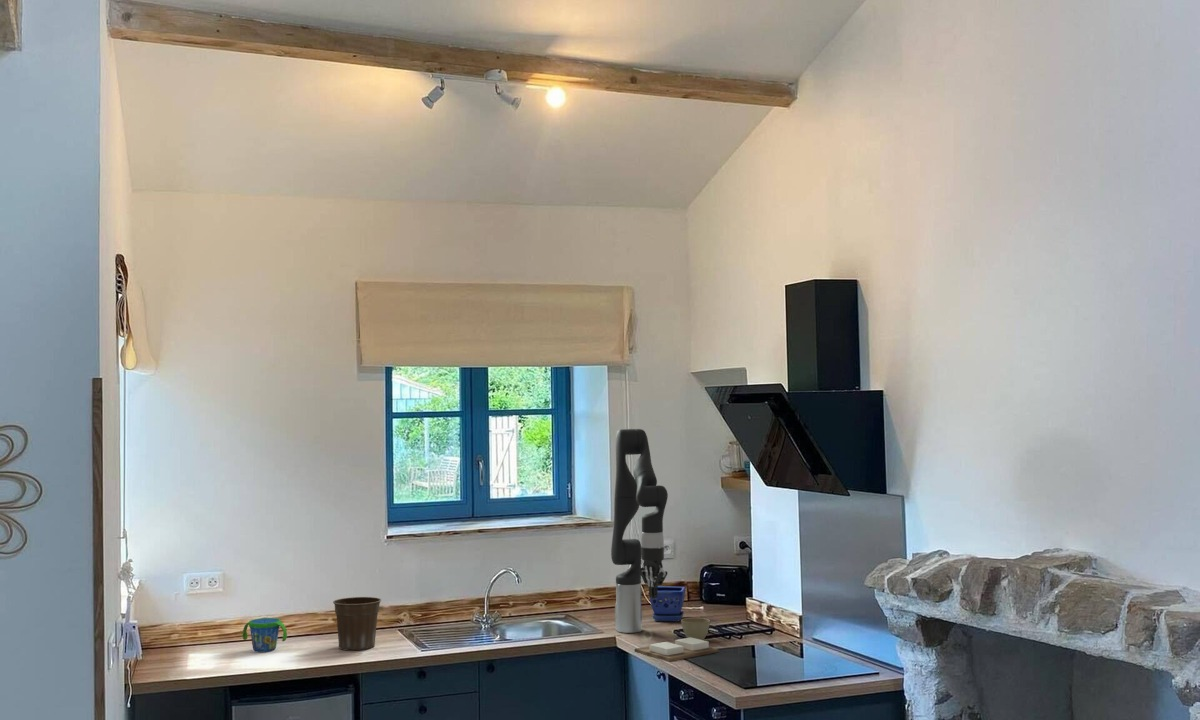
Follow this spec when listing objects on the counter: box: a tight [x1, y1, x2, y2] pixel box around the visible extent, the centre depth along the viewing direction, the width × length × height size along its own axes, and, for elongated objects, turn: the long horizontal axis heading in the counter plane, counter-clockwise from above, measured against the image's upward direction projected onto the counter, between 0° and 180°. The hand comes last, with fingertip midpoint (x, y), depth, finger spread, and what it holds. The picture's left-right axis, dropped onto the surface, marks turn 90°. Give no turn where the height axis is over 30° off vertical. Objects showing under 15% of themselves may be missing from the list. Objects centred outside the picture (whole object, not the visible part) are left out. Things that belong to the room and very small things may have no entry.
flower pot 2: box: [680, 617, 711, 641], centre depth 363 cm, size 10×10×7 cm
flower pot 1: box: [649, 585, 686, 622], centre depth 404 cm, size 13×13×12 cm
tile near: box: [648, 641, 684, 656], centre depth 342 cm, size 2×7×9 cm
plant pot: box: [332, 596, 382, 651], centre depth 362 cm, size 16×16×16 cm
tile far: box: [674, 637, 710, 651], centre depth 348 cm, size 2×7×9 cm
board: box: [634, 641, 719, 662], centre depth 346 cm, size 18×21×1 cm
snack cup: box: [242, 617, 288, 653], centre depth 359 cm, size 16×10×10 cm
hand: (653, 597), depth 348 cm, fingers closed
